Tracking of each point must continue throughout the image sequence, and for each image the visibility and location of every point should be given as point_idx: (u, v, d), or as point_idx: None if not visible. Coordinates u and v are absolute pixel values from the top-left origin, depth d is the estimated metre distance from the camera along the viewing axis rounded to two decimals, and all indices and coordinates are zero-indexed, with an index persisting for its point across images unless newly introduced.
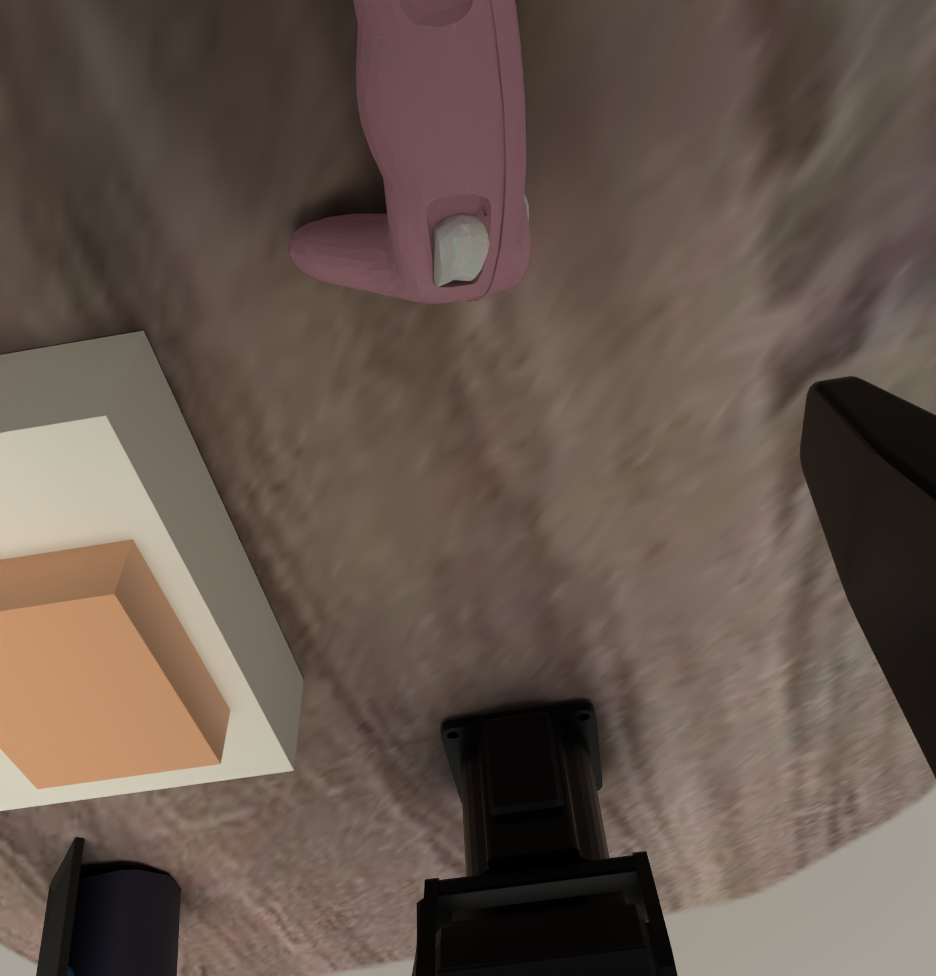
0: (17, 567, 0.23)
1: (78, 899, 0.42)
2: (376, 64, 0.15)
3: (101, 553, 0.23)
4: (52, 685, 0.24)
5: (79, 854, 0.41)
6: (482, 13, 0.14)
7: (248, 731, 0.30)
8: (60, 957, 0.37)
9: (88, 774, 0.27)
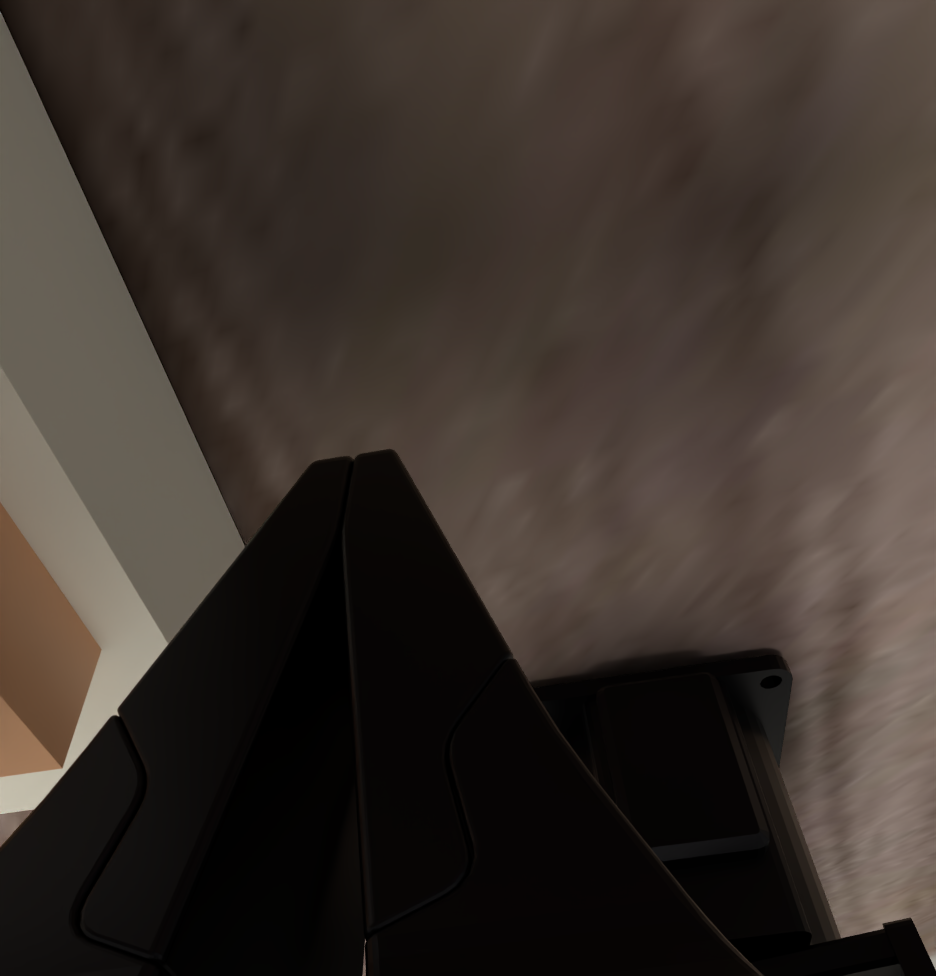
0: None
1: None
2: None
3: None
4: None
5: None
6: None
7: None
8: None
9: None
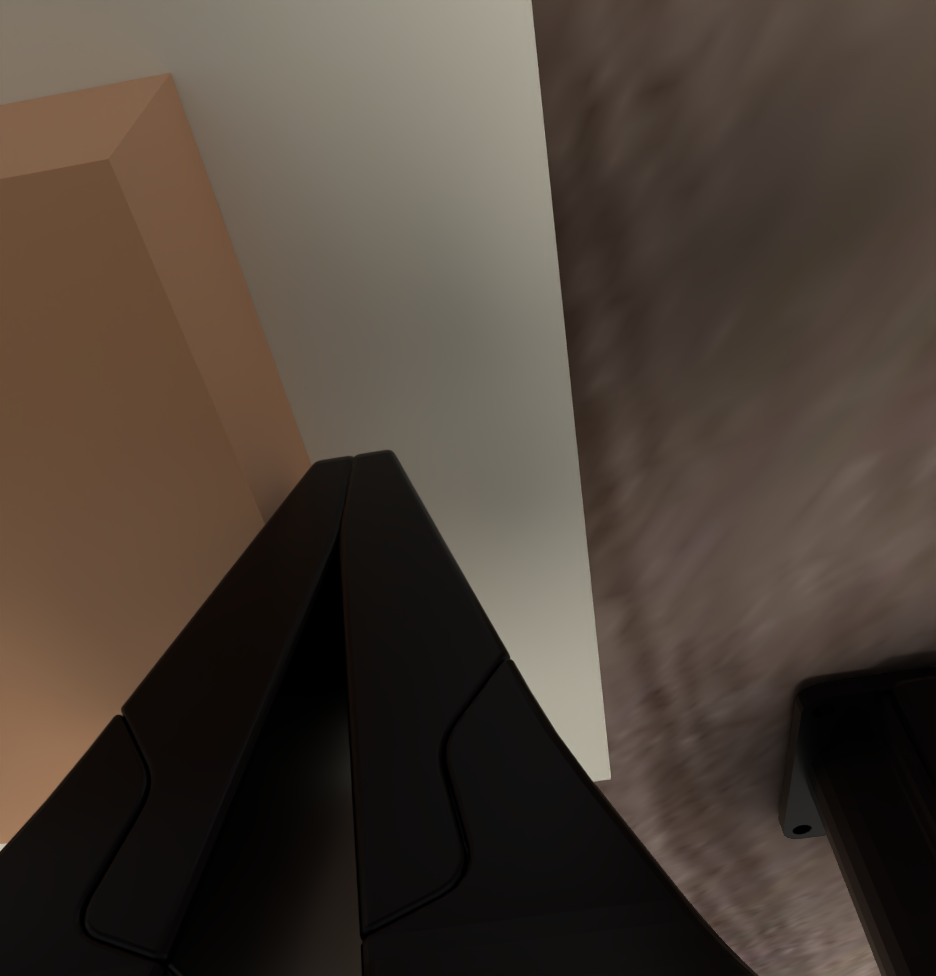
0: None
1: None
2: None
3: (66, 103, 0.07)
4: None
5: None
6: None
7: (548, 692, 0.13)
8: None
9: None
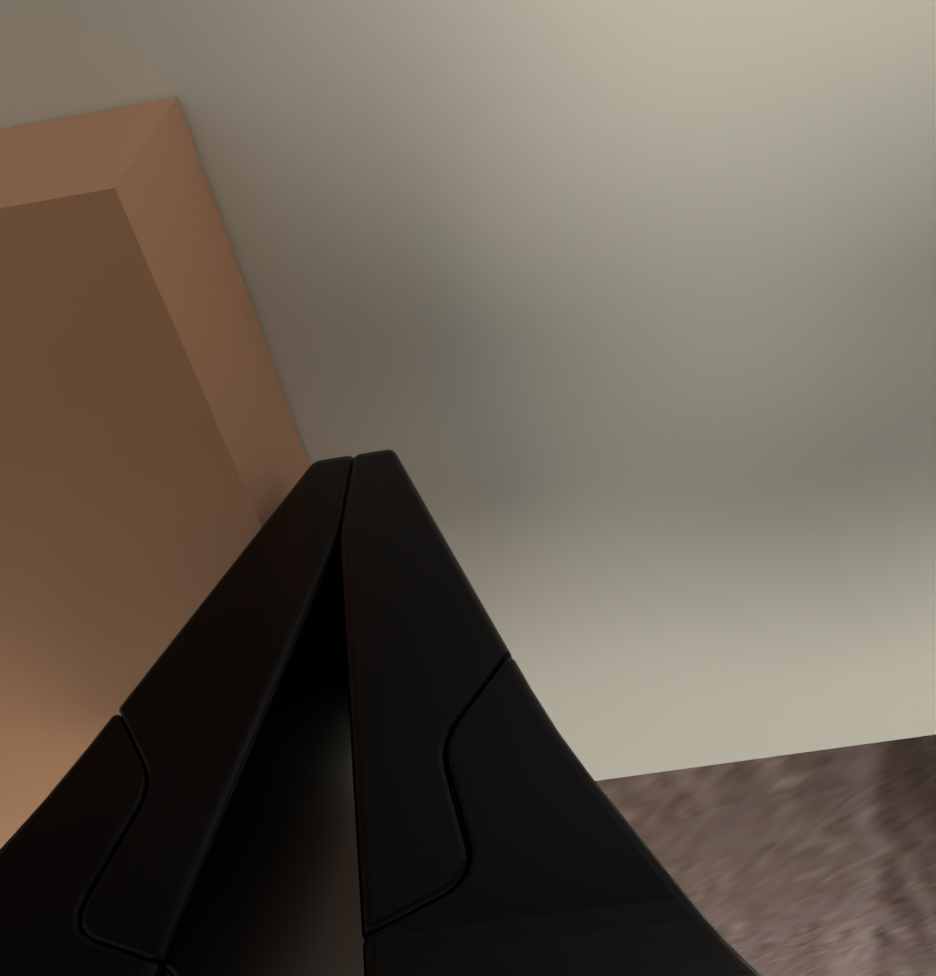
0: None
1: None
2: None
3: (75, 127, 0.07)
4: None
5: None
6: None
7: None
8: None
9: None
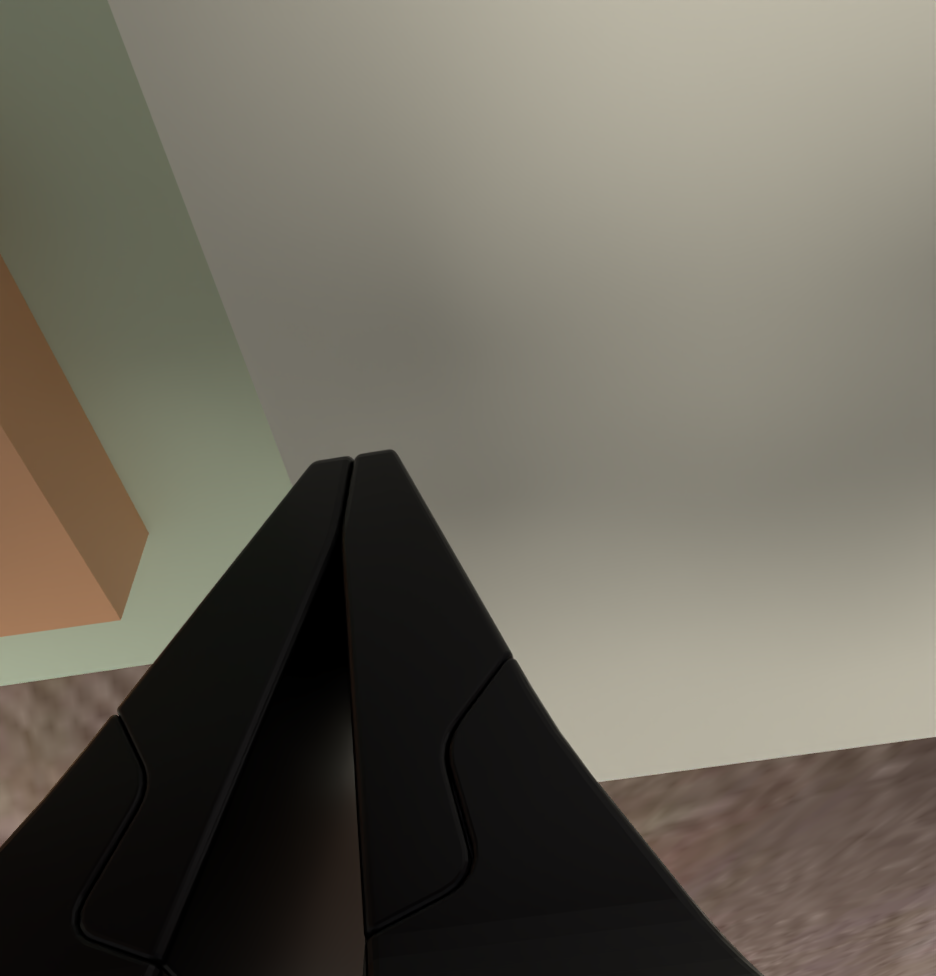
0: None
1: None
2: None
3: None
4: None
5: None
6: None
7: None
8: None
9: None
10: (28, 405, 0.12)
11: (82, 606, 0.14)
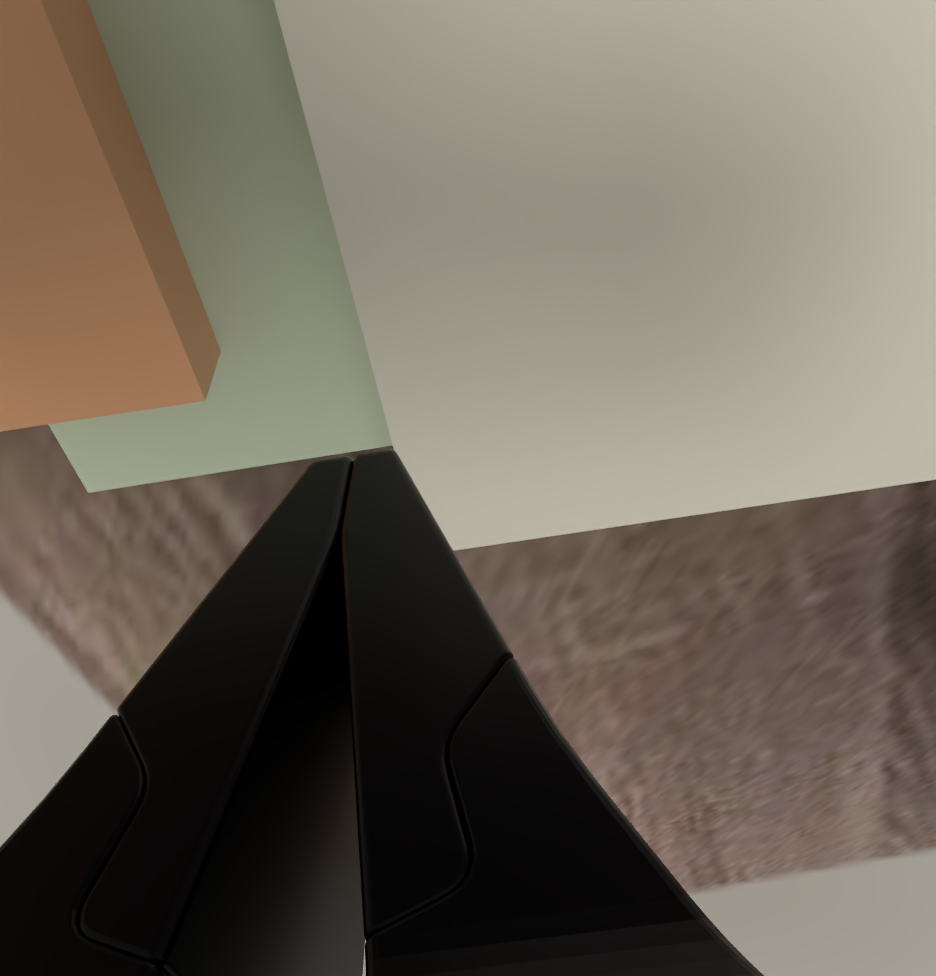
0: None
1: None
2: None
3: None
4: None
5: None
6: None
7: None
8: None
9: None
10: (149, 224, 0.17)
11: (178, 387, 0.18)
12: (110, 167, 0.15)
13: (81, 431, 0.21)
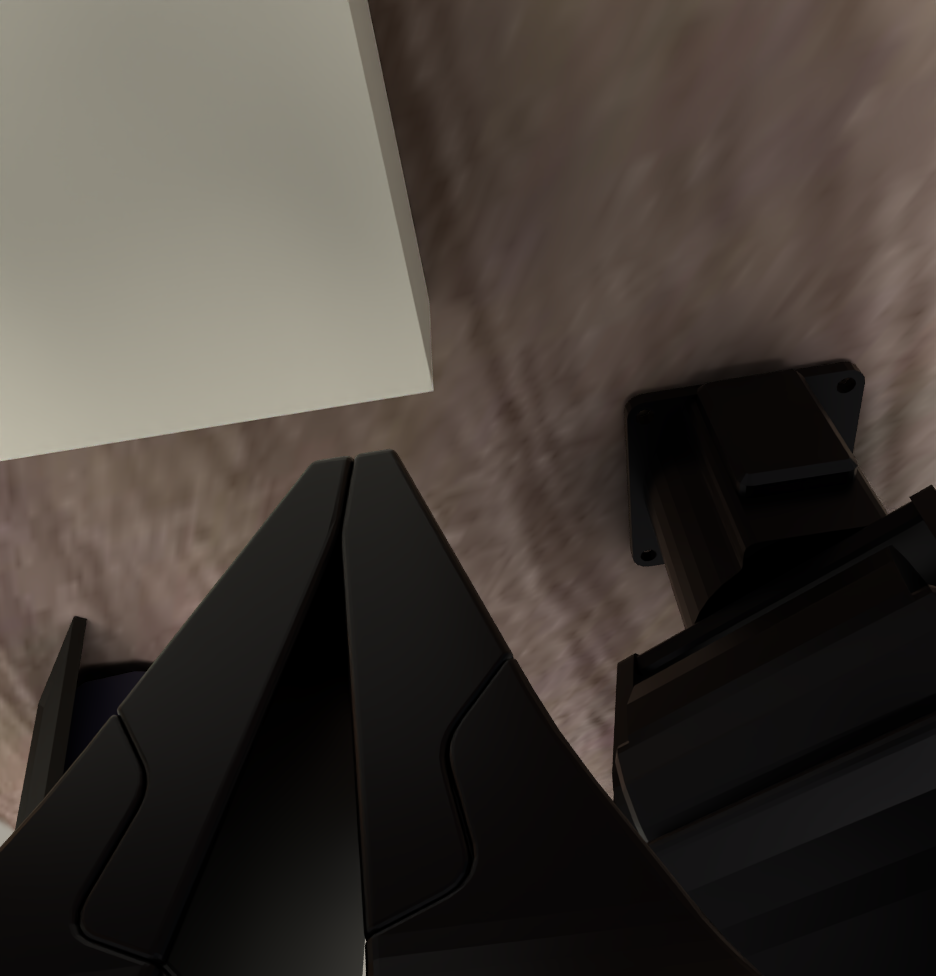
0: None
1: (78, 707, 0.29)
2: None
3: None
4: None
5: (80, 637, 0.28)
6: None
7: (369, 286, 0.17)
8: (51, 762, 0.25)
9: None
10: None
11: None
12: None
13: None
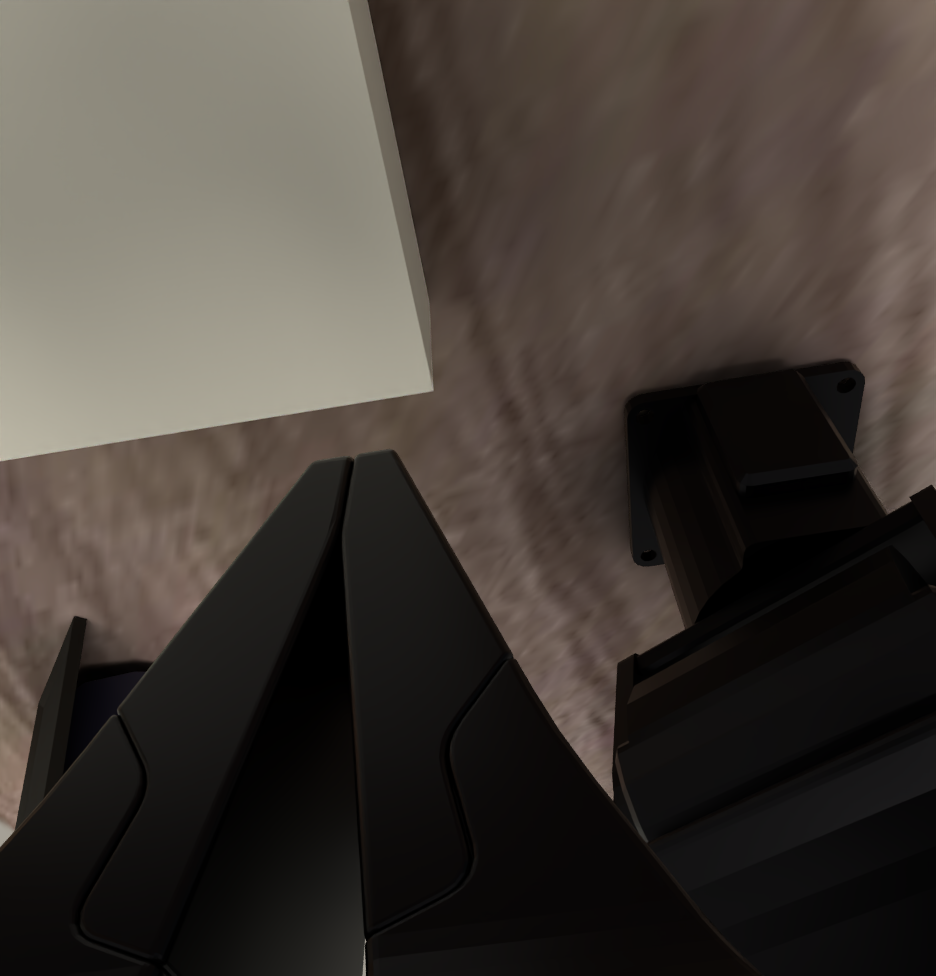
0: None
1: (78, 708, 0.29)
2: None
3: None
4: None
5: (80, 637, 0.28)
6: None
7: (369, 286, 0.17)
8: (51, 762, 0.25)
9: None
10: None
11: None
12: None
13: None
